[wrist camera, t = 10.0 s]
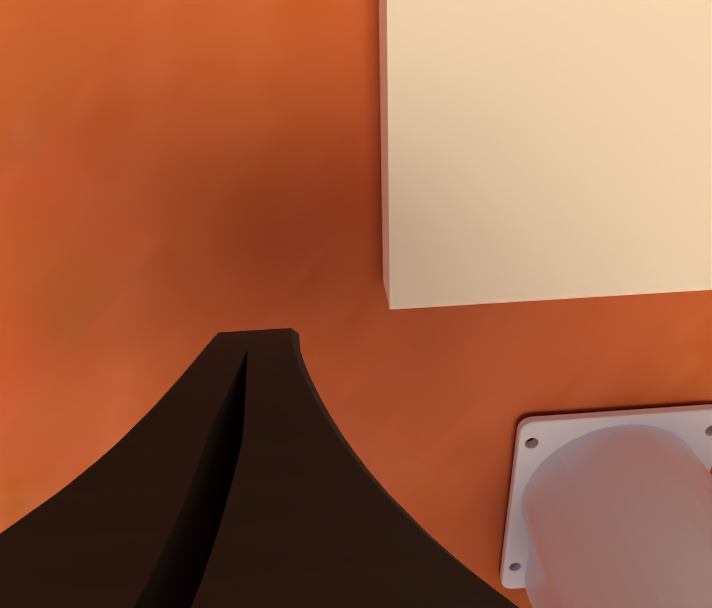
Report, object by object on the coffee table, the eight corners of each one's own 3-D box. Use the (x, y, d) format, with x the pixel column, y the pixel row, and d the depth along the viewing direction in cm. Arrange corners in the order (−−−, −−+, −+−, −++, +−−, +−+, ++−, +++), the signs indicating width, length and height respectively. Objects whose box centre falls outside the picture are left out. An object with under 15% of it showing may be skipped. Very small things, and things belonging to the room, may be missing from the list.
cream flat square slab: (795, 255, 21) (839, 282, 19) (383, 279, 20) (389, 309, 19) (985, -305, 14) (1081, -344, 12) (374, -291, 14) (383, -328, 12)
